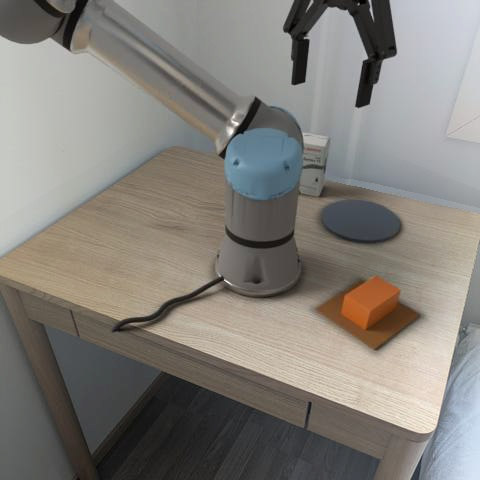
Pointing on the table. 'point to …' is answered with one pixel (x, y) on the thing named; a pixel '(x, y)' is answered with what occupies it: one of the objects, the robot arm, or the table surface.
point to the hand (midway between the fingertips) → (328, 94)
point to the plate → (360, 221)
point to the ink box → (314, 163)
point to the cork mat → (378, 330)
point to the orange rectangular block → (370, 302)
